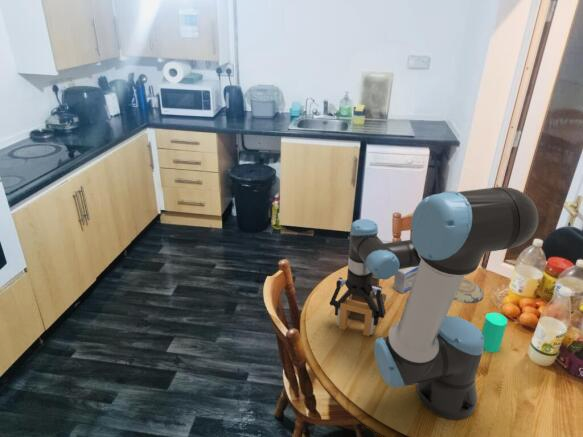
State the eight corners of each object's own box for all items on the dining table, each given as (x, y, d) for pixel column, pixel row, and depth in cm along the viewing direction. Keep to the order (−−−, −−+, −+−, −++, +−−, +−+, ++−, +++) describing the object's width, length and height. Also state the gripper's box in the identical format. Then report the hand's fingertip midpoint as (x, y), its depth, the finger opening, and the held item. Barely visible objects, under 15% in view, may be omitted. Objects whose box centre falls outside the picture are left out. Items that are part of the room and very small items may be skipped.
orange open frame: (369, 336, 135) (372, 310, 130) (338, 328, 138) (340, 303, 134) (371, 330, 137) (374, 305, 133) (341, 322, 140) (343, 297, 136)
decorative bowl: (492, 295, 155) (458, 275, 166) (494, 287, 153) (460, 267, 164) (465, 310, 148) (431, 288, 159) (468, 301, 146) (433, 280, 157)
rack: (376, 325, 139) (380, 294, 134) (341, 316, 143) (343, 286, 138) (386, 297, 153) (389, 269, 147) (353, 290, 157) (355, 261, 151)
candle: (498, 340, 133) (507, 309, 128) (501, 354, 128) (510, 322, 123) (477, 337, 134) (485, 306, 129) (479, 350, 129) (488, 318, 124)
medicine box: (402, 294, 155) (405, 274, 151) (392, 288, 158) (395, 268, 154) (415, 286, 159) (418, 266, 155) (405, 281, 162) (408, 261, 158)
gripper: (400, 270, 127) (392, 329, 137) (328, 255, 134) (325, 312, 144) (396, 284, 120) (388, 344, 130) (320, 267, 128) (318, 325, 138)
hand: (355, 327), depth 137 cm, fingers closed on orange open frame, 10 cm apart
